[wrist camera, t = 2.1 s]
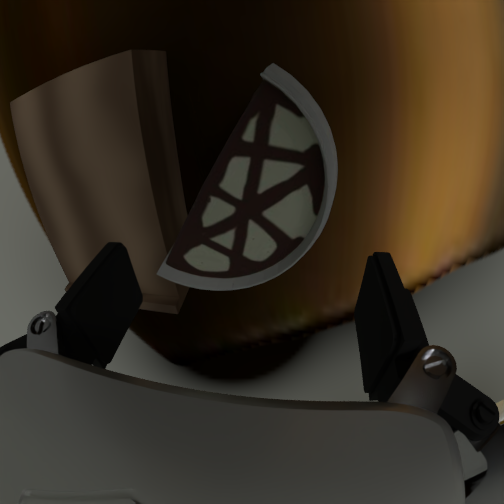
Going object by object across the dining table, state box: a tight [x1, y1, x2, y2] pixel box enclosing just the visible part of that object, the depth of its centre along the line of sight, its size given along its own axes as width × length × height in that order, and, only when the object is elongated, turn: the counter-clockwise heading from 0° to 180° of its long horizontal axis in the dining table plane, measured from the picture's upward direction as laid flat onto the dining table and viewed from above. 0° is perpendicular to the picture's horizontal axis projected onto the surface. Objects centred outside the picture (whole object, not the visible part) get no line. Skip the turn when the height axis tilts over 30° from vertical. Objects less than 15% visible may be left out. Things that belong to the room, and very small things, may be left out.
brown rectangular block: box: [10, 50, 190, 314], centre depth 20 cm, size 13×20×6 cm, turn 3°
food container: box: [157, 63, 338, 291], centre depth 16 cm, size 12×6×10 cm, turn 150°
